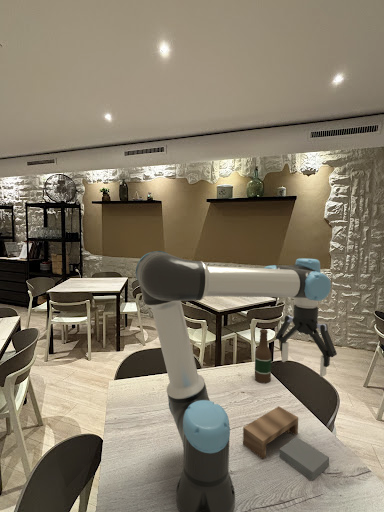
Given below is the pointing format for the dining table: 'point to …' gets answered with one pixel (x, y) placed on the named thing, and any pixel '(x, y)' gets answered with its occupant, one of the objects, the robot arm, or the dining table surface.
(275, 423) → the walnut arch bridge
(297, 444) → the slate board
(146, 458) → the dining table surface
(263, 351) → the beer bottle
